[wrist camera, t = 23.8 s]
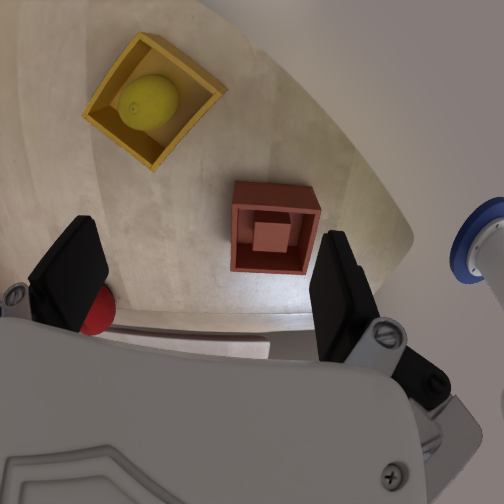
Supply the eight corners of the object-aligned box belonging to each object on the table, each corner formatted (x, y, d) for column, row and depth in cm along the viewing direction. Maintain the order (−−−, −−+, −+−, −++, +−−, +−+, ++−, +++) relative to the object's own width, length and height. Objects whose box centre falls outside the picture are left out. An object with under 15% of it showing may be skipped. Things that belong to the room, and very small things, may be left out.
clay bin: (312, 186, 32) (321, 210, 28) (300, 247, 38) (305, 275, 34) (235, 181, 32) (232, 203, 28) (233, 243, 38) (230, 271, 33)
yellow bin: (228, 89, 25) (223, 94, 21) (168, 154, 30) (153, 172, 25) (159, 35, 21) (139, 31, 16) (105, 105, 25) (81, 116, 21)
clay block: (287, 206, 33) (291, 224, 30) (283, 233, 36) (286, 252, 33) (254, 204, 33) (254, 222, 30) (252, 231, 36) (252, 250, 33)
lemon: (171, 128, 27) (146, 150, 21) (130, 107, 25) (95, 125, 19) (196, 86, 24) (176, 94, 18) (153, 64, 22) (120, 67, 16)
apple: (110, 314, 49) (94, 356, 41) (73, 289, 45) (52, 329, 37) (129, 293, 45) (111, 340, 37) (87, 264, 41) (62, 309, 33)
